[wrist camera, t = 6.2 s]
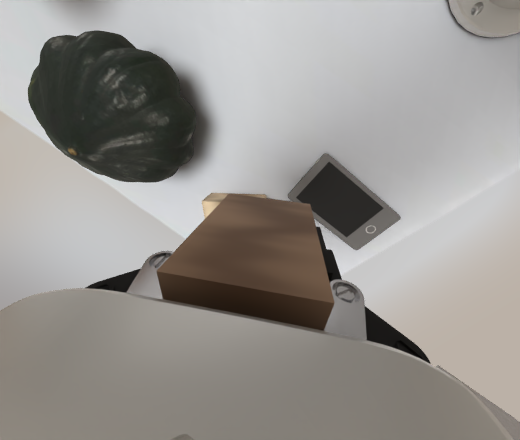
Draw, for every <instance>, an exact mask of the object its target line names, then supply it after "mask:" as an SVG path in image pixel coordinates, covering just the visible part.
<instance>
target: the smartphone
mask: <svg viewBox="0 0 520 440" xmlns="http://www.w3.org/2000/svg"><path fill="white" fill-rule="evenodd" d="M288 198H289V199H290V200H291V201H293V202H298V203H305V204H310V205H311V209H312V213H313V217H314V219H316V220H317V221H318V222H320V223H321V224H322V225H323V226H325V227H326V228H327V229H329V230H330V231H331V232H332V233H334V234H335V235H336V236H338V237H339V238H340V239H341V240H343V241H344V242H345V243H347V244H348V245H349V246H350V247H352V248H353V249H355V250H358V249H360V248H361V247H363V246H364V245H365V244H367V243H368V242H370V241H371V240H372V239H374V238H375V237H376V236H378V235H379V234H381V233H382V232H383V231H385V230H386V229H387V228H389V227H390V226H392V225H393V224H394V223H396V222H397V221H398V220H400V216H399V215H398V214H397V213H396V212H395V211H394V210H393V209H391V208H390V207H389V206H388V205H387V204H386V203H385V202H383V201H382V200H381V199H380V198H379V197H378V196H376V195H375V194H374V193H373V192H372V191H371V190H369V189H368V188H367V187H366V186H365V185H364V184H363V183H361V182H360V181H359V180H358V179H357V178H356V177H354V176H353V175H352V174H351V173H350V172H349V171H347V170H346V169H345V168H344V167H343V166H342V165H341V164H339V163H338V162H337V161H336V160H335V159H334V158H332V157H331V156H330V155H329V154H323V156H322V157H321V158H320V159H318V160H317V161H316V162H315V165H314V166H313V167H312V168H311V169H310V170H309V171H308V172H307V174H306V175H305V176H304V177H303V178H302V179H301V180H300V182H299V183H298V184H297V185H296V186H295V187H294V188H293V189H292V191H291V192H290V193H289V194H288Z"/></svg>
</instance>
